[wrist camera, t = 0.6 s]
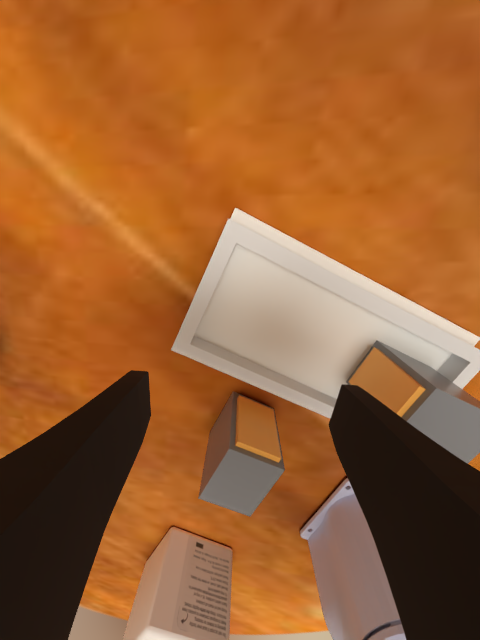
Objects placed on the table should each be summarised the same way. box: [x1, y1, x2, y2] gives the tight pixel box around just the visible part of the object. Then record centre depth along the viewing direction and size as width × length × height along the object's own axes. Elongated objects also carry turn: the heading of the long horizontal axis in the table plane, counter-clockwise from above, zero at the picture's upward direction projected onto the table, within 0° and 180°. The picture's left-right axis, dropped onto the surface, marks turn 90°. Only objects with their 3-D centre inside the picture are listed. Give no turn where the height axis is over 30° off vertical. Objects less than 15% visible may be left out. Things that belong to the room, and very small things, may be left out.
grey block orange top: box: [199, 391, 285, 516], centre depth 19 cm, size 4×5×6 cm
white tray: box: [171, 208, 480, 419], centre depth 18 cm, size 11×20×2 cm, turn 64°
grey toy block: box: [346, 340, 480, 464], centre depth 16 cm, size 4×5×6 cm
